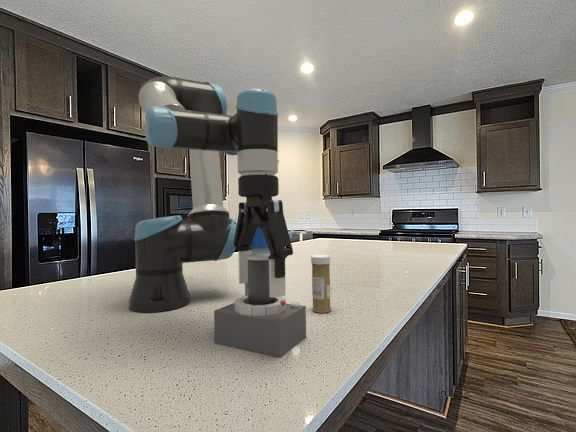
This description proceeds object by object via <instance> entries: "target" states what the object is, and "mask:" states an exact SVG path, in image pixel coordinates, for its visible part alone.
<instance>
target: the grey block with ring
mask: <svg viewBox="0 0 576 432" xmlns="http://www.w3.org/2000/svg"><path fill="white" fill-rule="evenodd" d="M286 300H287V299H286V297H284V296H280V297H275V303H273V304H267V305H249V304H248V296H245V295H244V296H241V297H237V298H236V299H235V301H234V302H232V303H229V304H227V305H225V306H222V307H219V308H217V309H215V310H214V311H213V315H214V317H213V319H214V321H213V323H214V324H213V325H214V326H213V327H214V329H213V330H214V344H219V345H223V346H227V347H232V348H237V349H241V350H245V351H249V352H254V353H259V354H264V355H268V356H272V357H277V358H282V356H284V355H285V354H286V353H288V352H289V351H290V350H291V349H293V348H295V347H296V346H297V345H298V344H300V343H301V342H302V341H303V340H305V339H307V309H306V307H307V306H306V305H300V302H298V301H292V302H290V303H287V301H286Z"/></svg>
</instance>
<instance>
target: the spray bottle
mask: <svg viewBox="0 0 576 432" xmlns="http://www.w3.org/2000/svg"><path fill="white" fill-rule="evenodd" d="M251 246H252V248H253V250H251V251H252V254H271V253H270V251H269V248H268V245H267V243H266V240H265V237H264V235H263V232H262V229H261V228H259V227H257V230H256V233H255V235H254V238H253V241H252V244H251ZM248 251H250V250H248ZM244 296H248V283H244Z"/></svg>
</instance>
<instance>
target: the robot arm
mask: <svg viewBox="0 0 576 432" xmlns="http://www.w3.org/2000/svg"><path fill="white" fill-rule="evenodd" d="M137 93H138V94H137V99H138V103H139V105H140V108H141V110H142V111H143V112H144V113H145V123H144V124H145V127H144V128H145V129H144V130H145V138H146V139H145V140H146V142H147V144H148V145H149V146H152V147H156V148H163V149H179V150H189V151H188V152H189V166H190V183H191V195H192V196H191V197H192V198H191V199H192V210H191V211H189V212H188V214H187V220H183V218H182V216H181V215H171V216H163V217H156V218H151V219H150V218H149V219H145V220H140V221H138V222H137V223H136V225H135V229H134V231H135V233H134V238H133V239H134V241H135V278H134V280H135V281H134V282H133V286H132V289H131V293H130V296H129V298H128V299H129V300H128V308H129V310H130V311H134V312H138V313H139V312H140V313H150V312H151V313H156V312H167V311H171V310H176V309H179V308H183V307H184V306H187V305H188V304H190V302H191V296H190V295H191V293H190V291H189V289H188V286H187V283H186V279H185V277H184V272H183V265H184V264H185V263H186V264H187V263H199V262H200V263H201V262H211V261H214V262H217V261H221V260H227V259H230V258H231V257H232V256H233V254H234V253H235V251H237V253H238V284H241V285H242V284H245V283H248V259H247V255H250V254H252V251H251V250H253V248H252V246H251V244H252V241H253V238H254V235H255V233H256V230H257V227H259V228H261V229H262V232H263V235H264V237H265V240H266V243H267V245H268V248H269V251H270V253H271V254H270V256H269V257H268V259H269V292H270V297H271V298H273V297H280V296H282V297H284V296H285V297H286V258H288V257H289V256H293V255H294V250H293V246H292V242H291V238H290V234H289V229H288V227H287V222H286V218H285V215H284V206H283V205H284V204H283V200H280V199H273V197H277V196H279V185H280V184H279V177H278V176H277V175H276V174H278V173H279V163H280V160H279V158H278V157H279V156H278V153H279V150H278V149H279V148H278V147H279V146H278V145H279V143H278V142H279V141H278V138H279V137H278V136H279V134H278V130H279V128H278V125H279V124H278V123H279V121H278V117H279V112H278V102H277V96H276V95H275V93H273V92H272V91H270V90H268V89H263V88H248V89H243V90H241V91H240V92H239V93H238V94H237V97H236V106H235V109H236V113H235V114H234V115H230V114H228V111H227V109H228V99H227V95H226V93H225V91H224V89H223V88H222V87H221V86H220V85H218V84H216V83H211V82H209V81H198V80H193V79H187V78H181V77H176V76H165V75H163V76H158V77H153V78H150V79H149V80H146V81H145V82H144V83H143V84H142V85H141V86H140V88H139V91H138V92H137ZM220 152H221V153H224V154H225V155H227V156H237V157H236V158H237V173H238V174H239V176H238V178H237V180H238V181H237V185H238V189H237V190H238V193H237V194H238V196H239V197H242V198H244V197H245V198H246V200H245V202H243V201H242V202H239V203H238V213H237V215H238V216H237V220H236V219H233V218H230V211H228V209H226V208H225V207H224V200H223V188H222V187H223V186H222V185H223V184H222V175H221V174H222V173H221V162H220V161H221V159H220ZM236 249H237V250H236ZM248 250H250V251H248Z"/></svg>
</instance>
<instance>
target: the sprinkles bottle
mask: <svg viewBox="0 0 576 432" xmlns="http://www.w3.org/2000/svg"><path fill="white" fill-rule="evenodd" d="M310 257H311V258H310V263H311V290H312V291H311V292H312V293H311V295H312V308H311V309H312V311H313V312H314V313H318V314H326V313H330V312H331V311H332V307H331V277H330V276H331V274H330V272H331V271H330V264H331V256H330V255H328V254H313V255H311V256H310Z"/></svg>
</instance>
